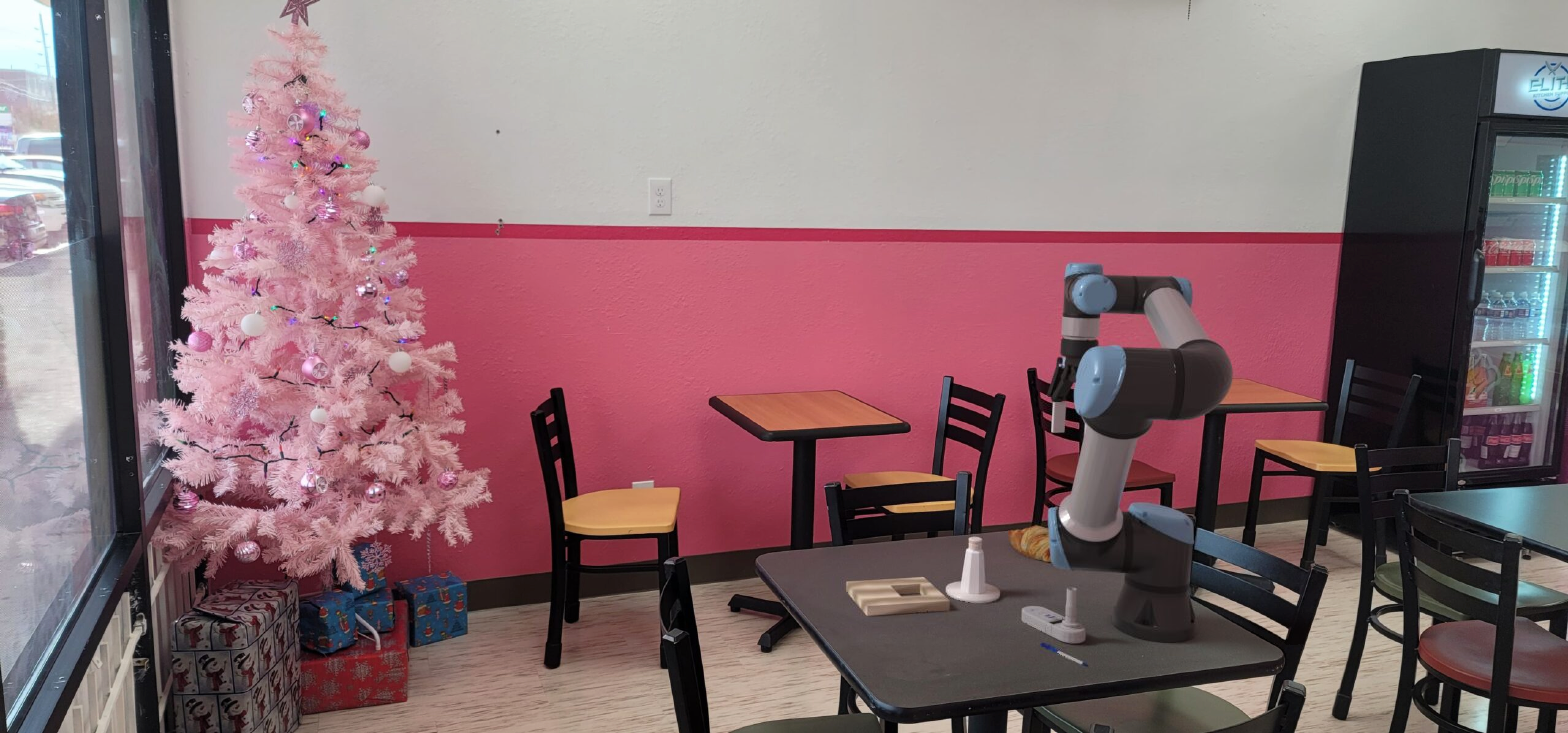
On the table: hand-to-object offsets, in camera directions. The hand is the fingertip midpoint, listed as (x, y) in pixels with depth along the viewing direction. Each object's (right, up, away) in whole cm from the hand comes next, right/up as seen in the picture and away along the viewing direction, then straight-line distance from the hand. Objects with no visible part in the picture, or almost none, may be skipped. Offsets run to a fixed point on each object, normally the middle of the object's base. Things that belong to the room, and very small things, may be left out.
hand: (1073, 438), depth 214 cm
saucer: (-22, -32, -3) cm, 39 cm away
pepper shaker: (-22, -31, -3) cm, 38 cm away
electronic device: (-10, -35, -21) cm, 42 cm away
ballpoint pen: (-11, -37, -33) cm, 50 cm away
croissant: (-1, -29, +24) cm, 38 cm away
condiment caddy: (-38, -32, -8) cm, 50 cm away
